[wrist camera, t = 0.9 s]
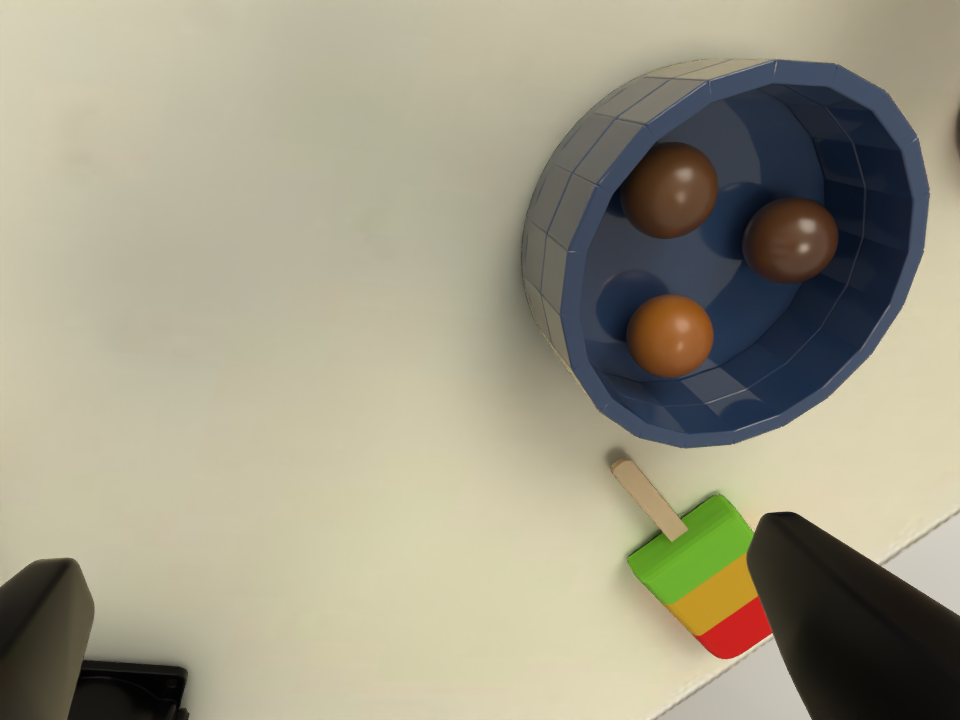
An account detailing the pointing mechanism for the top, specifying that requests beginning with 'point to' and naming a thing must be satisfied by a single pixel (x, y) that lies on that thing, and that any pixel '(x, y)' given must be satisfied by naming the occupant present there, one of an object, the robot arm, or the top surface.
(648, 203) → the bead
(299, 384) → the top surface
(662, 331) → the bead
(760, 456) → the top surface
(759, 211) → the bead
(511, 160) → the top surface
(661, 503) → the popsicle
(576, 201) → the bowl
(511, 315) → the top surface
